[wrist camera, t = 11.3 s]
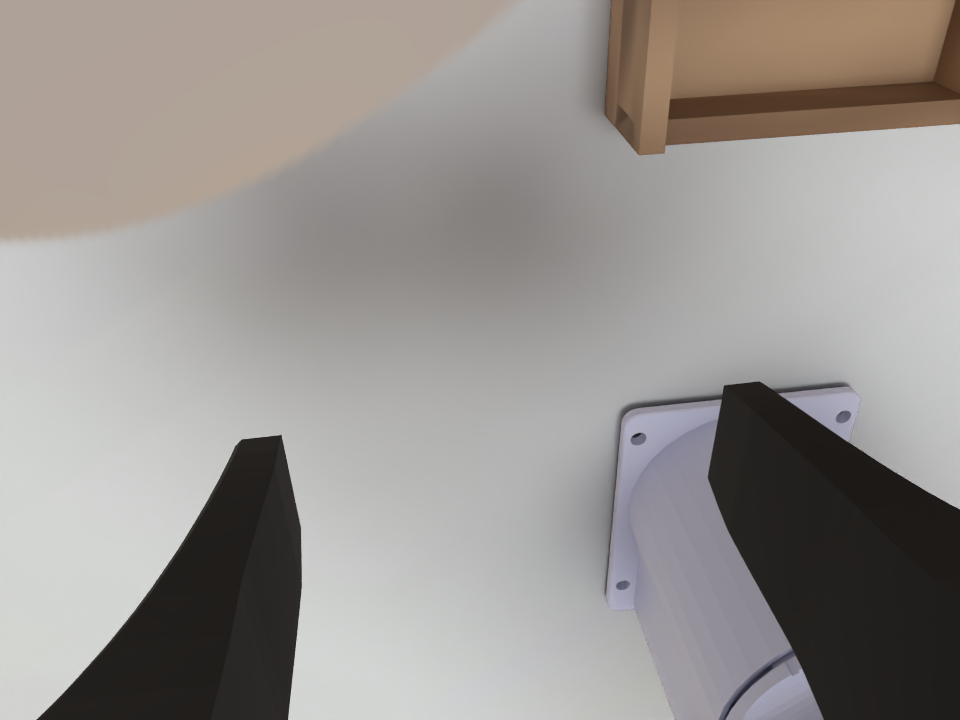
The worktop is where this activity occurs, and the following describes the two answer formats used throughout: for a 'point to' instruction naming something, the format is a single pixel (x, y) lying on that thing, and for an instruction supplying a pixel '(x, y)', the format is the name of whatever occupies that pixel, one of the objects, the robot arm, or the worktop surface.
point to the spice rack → (779, 68)
